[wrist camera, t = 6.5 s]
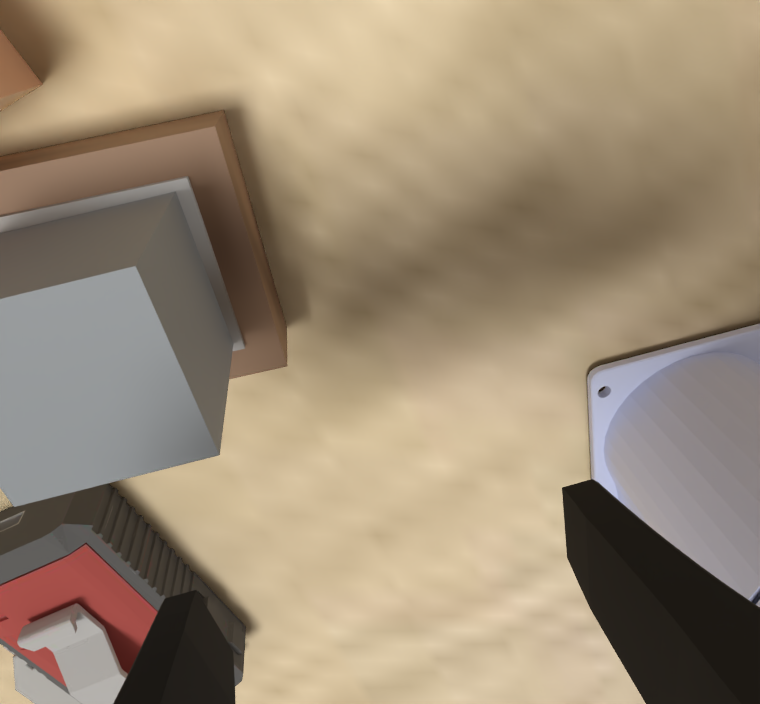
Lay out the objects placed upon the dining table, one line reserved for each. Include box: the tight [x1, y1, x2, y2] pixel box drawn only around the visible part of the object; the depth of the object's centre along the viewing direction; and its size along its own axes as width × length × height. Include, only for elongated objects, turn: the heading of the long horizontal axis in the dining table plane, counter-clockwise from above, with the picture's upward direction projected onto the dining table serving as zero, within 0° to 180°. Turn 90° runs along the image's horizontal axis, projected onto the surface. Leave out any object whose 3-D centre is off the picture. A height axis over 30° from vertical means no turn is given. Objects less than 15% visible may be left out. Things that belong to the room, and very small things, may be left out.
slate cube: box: [0, 191, 233, 507], centre depth 14 cm, size 4×4×5 cm
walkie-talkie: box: [0, 483, 246, 704], centre depth 25 cm, size 9×4×20 cm
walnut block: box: [0, 110, 287, 379], centre depth 17 cm, size 7×7×3 cm
